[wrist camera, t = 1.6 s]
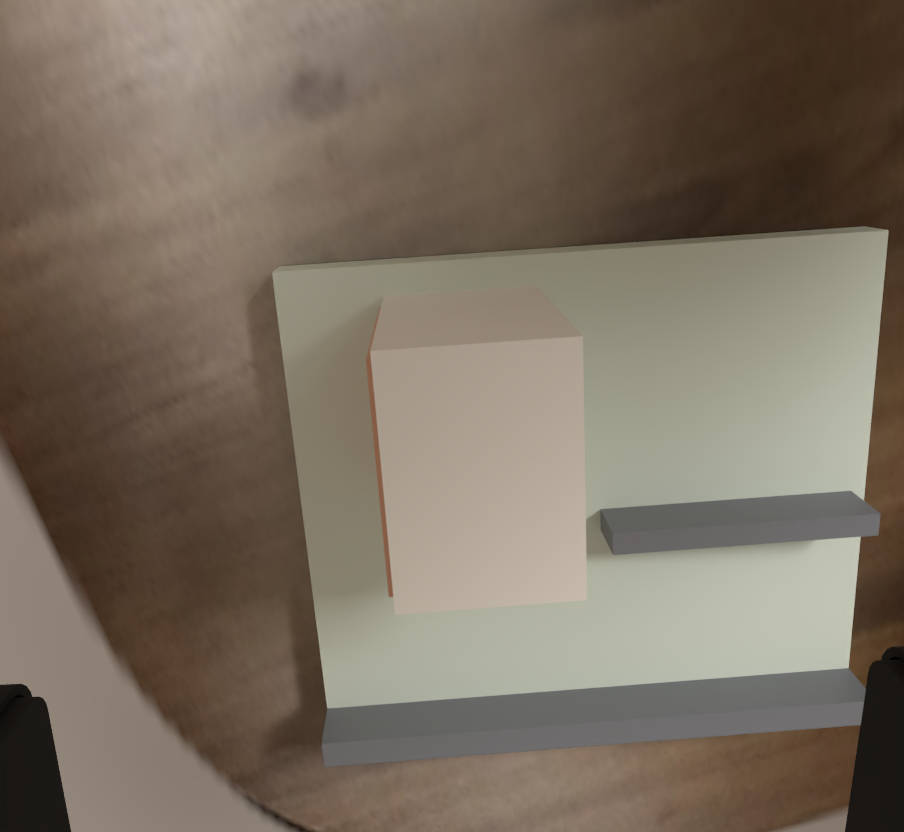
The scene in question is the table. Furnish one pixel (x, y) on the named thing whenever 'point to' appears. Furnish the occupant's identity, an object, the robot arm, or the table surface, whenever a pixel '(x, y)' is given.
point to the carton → (479, 449)
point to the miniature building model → (615, 500)
